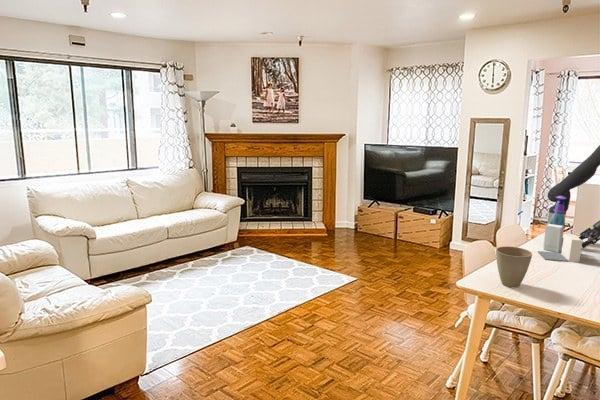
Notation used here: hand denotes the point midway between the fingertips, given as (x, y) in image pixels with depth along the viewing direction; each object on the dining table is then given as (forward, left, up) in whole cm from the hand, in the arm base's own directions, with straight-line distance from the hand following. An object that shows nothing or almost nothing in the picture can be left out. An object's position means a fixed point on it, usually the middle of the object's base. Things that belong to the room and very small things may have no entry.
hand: (578, 244), depth 241 cm
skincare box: (-13, -9, -8) cm, 18 cm away
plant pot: (+50, -45, -8) cm, 68 cm away
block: (0, -3, -8) cm, 9 cm away
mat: (0, -12, -8) cm, 14 cm away
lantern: (-25, -4, -8) cm, 26 cm away
